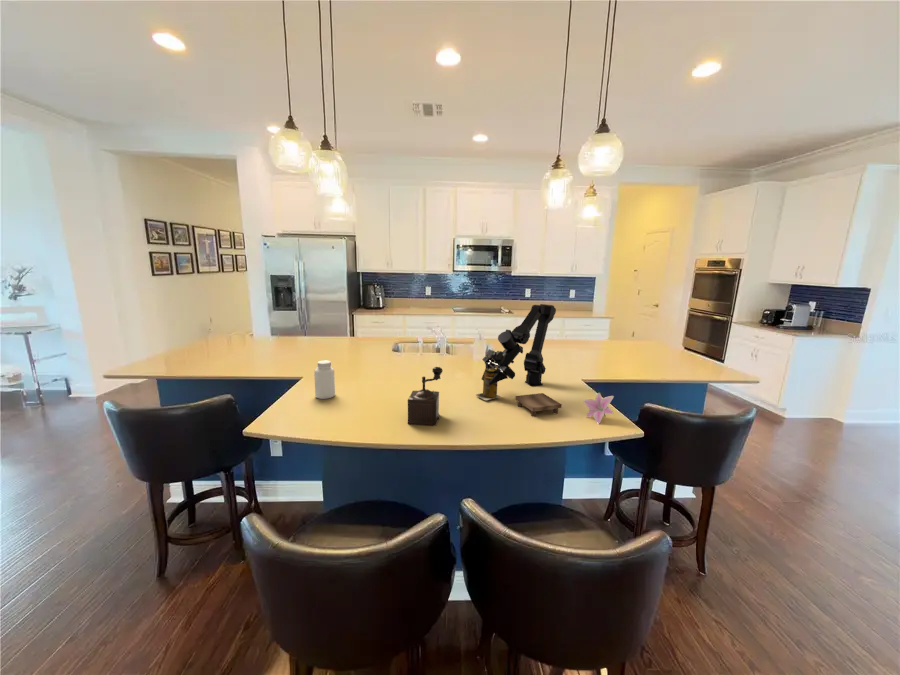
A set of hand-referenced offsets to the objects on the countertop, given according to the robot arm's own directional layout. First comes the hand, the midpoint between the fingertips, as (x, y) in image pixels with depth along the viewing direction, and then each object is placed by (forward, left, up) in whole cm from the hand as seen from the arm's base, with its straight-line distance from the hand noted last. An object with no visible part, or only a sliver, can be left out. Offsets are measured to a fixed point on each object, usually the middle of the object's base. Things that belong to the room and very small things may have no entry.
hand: (485, 382), depth 158 cm
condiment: (-1, 0, -7) cm, 7 cm away
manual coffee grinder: (+30, +11, -8) cm, 33 cm away
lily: (-33, +31, -8) cm, 46 cm away
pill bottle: (+65, -21, -8) cm, 68 cm away
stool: (-15, +17, -7) cm, 24 cm away
